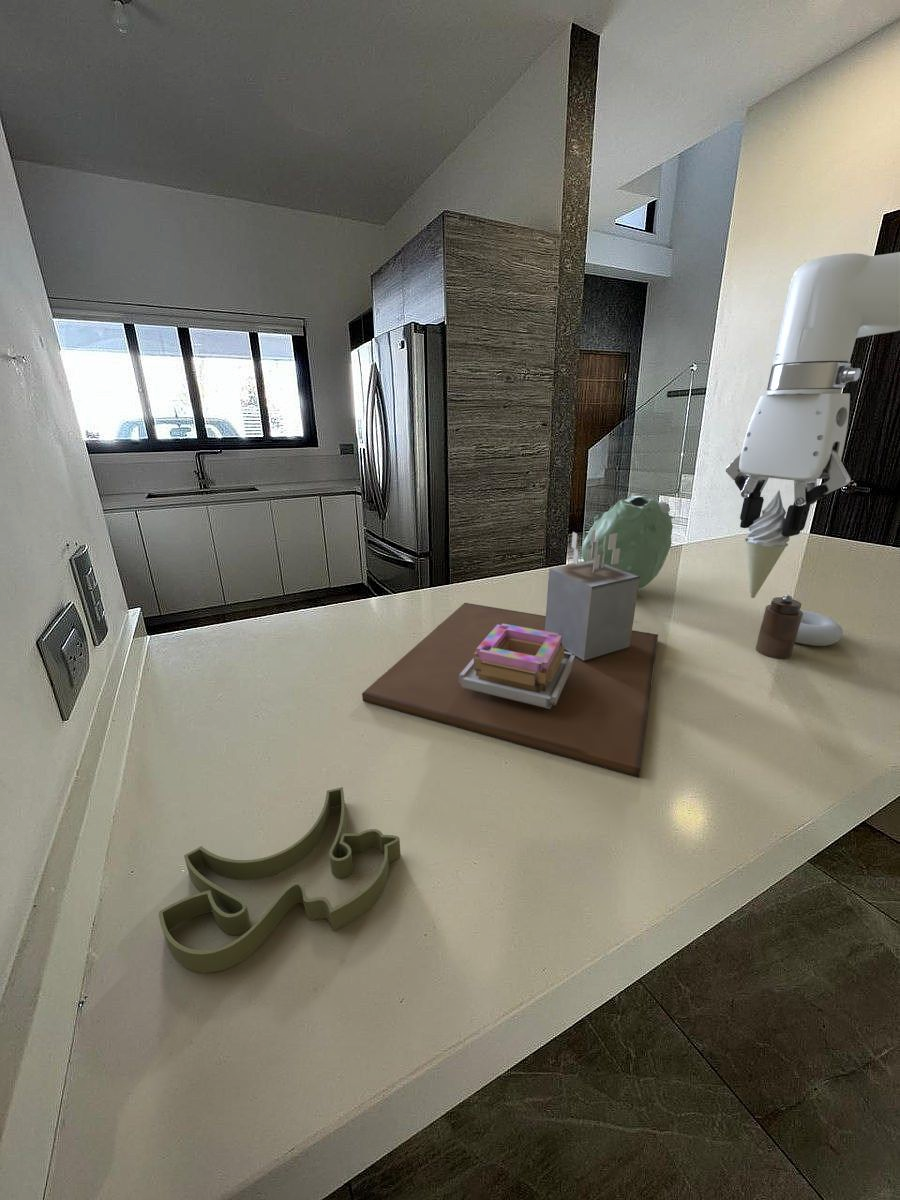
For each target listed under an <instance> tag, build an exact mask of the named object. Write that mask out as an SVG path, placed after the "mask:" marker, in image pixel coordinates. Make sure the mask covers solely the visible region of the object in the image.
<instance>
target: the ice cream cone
mask: <svg viewBox="0 0 900 1200" xmlns="http://www.w3.org/2000/svg"><path fill="white" fill-rule="evenodd" d="M786 514H787V510H786V509H785V507H784V505H783V500H782V496H781V491H780V489H778V490H777V492H776V494H775V495H774V496H773V498H772V499H771V501H770V502H769V503H768V504H767V506H766V507H765V508H763V509H762V510H761V515H760V518H758V519H756V520H755V521H753V523H754V524H752V525H751V526H749V528H748V531H749V532H748V533H747V534H746V538H744V542H745V550H746V561H747V562H746V563H747V573H748V575H747V576H748V583H749V584H748V585H749V586H748V587H749V596H750V599H751V598H752V599H754V598H756V596H757V594H759V591H760V590H761V588H762V586H763V585H764V583H765V581H766V580H767V578H768V577H769V575H770V574H771V572H772V570H773V569H774V567H775V565H777V562H778V560H779V559H780V557H781V555H782V554H783V552H784V551H785V549H786V547H788V546H789V544H788V542H789V541H790V537H785V536H783V535H782V530H783V526H784V522H785V518H786Z"/></svg>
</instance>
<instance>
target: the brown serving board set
mask: <svg viewBox="0 0 900 1200" xmlns="http://www.w3.org/2000/svg"><path fill="white" fill-rule="evenodd" d="M595 533H596V529H594V530H592V534H591V544H590V546H588V550H587V560H586V562H584V561H581V562H579V555H580V553H579V552H580V549H579V548H578V547H577V544H578V535H579V534H578V532H575V531H572V536H571V537H572V538H571V548H572V549H573V556H572V563H571V564H565V565H560V566H555V567H550V568H548V579H547V580H548V582H547V592H546V593H547V594H546V607H545V615H542V614H536V613H531V612H524V611H518V610H512V609H507V608H506V609H505V608H500V607H493V606H488V605H481V604H475V603H469V602H464V603H463V604H461V605H460V606H459V607H458V608H457V609H455V611H454V612H452V613H451V614H450V615H449V616H448V617H447V618H446V619H444V620H443V621H442V622H441V623H440V624H439V625H438V626H436V627H435V628H434V629H433V630H432V631H431V632H430V633H429V634H427V635H426V636H425V637H424V638H423V639H422V640H421V641H419V643H418V644H416V645H415V646H414V647H412V649H410V650H409V651H408V652H407V653H406V654H405V655H404V656H403V657H401V658H400V659H399V660H398V661H397V662H395V664H393V666H391V667H390V668H389V669H388V670H387V671H385V672H384V673H383V674H382V675H381V676H379V678H378V679H376V681H375V680H374V682H373V683H372V684H371V685H369V687H367V688H366V689H365V690H363V692H361V698H362V702H365V703H370V704H373V705H376V706H380V707H384V708H388V709H391V710H395V711H398V712H401V713H405V714H409V715H413V716H416V717H419V718H423V719H426V720H431V721H434V722H438V723H441V724H445V725H449V726H452V727H456V728H459V729H463V730H466V731H470V732H474V733H477V734H481V735H485V736H488V737H491V738H495V739H499V740H502V741H506V742H509V743H514V744H516V745H520V746H524V747H527V748H532V749H535V750H538V751H542V752H545V753H549V754H552V755H557V756H560V757H563V758H567V759H571V760H575V761H578V762H580V763H581V762H582V763H585V764H589V765H593V766H595V767H599V768H602V769H603V768H604V769H607V770H611V771H614V772H617V773H620V774H625V775H628V776H632V777H636V778H639V777H640V773H641V768H642V767H641V766H642V759H643V750H644V743H645V737H646V728H647V721H648V714H649V707H650V698H651V692H652V691H651V690H652V682H653V676H654V670H655V669H654V668H655V660H656V653H657V646H658V639H659V638H658V637H659V634H656V633H650V632H645V631H639V630H633V627H634V620H635V619H634V618H635V612H636V607H637V606H636V605H637V599H638V593H639V589H638V586H639V579H640V576H638V575H635V574H633V573H630V572H627V571H624V570H621V569H619V568H616V567H613V566H610V565H608V564H605V563H604V556H605V551H604V550H605V542H606V537H605V538H604V543H603V552H602V554H603V558H602V562H599V560H600V555H598V556H597V552H598V543H599V541H595ZM616 539H617V534H610V537H609V546H608V550H613V554H612V562H611V564H618V562H619V554H620V549H615V547H616ZM591 549H592V555H591ZM590 558H594V560H591V561H589V560H590Z"/></svg>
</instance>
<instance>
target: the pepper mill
mask: <svg viewBox="0 0 900 1200" xmlns="http://www.w3.org/2000/svg"><path fill="white" fill-rule="evenodd" d="M801 609H802V603H801V602H800V601H798V600H797V599H794V598H793V597H792V596H791V595H788V594H787V595H783V596H777V597H776V596H775V597H773V598H771V600H770V604H767V605H766V606H765V609H764V613H763V616H762V621H761V624H760V627H759V633H758V636H757V639H756V643H755V650H756V652H757V653H759V654H761V655H763V656H765V657H768V658H772V659H777V660H778V659H779V660H784V659H789V658H791V656H792V653H793V651H794V647H795V643H796V642H795V640H796V637H797V633H798V630H799V626H800V623H801V620H802V616H803V612H802V611H800V610H801Z"/></svg>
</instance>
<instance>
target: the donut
mask: <svg viewBox="0 0 900 1200" xmlns="http://www.w3.org/2000/svg"><path fill="white" fill-rule="evenodd" d="M800 611H802V612H803V616H802V620H801V623H800V626H799V630H798V633H797V637H796V640H795V643H797V644H801V645H805V646H812V647H815V646H816V647H825V646H831V645H834V644H836V643H838V642H839V641H840V640H841V639H842V637H843V634H844V633H843V632H844V630H843V628H842V626H841V624H839V623H838V621H836V620H835V619H833V618H832V617H829V616H827V615H825V614H822V613H819V612H814V611H809V610H806V609H805V610H803V609H800Z"/></svg>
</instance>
